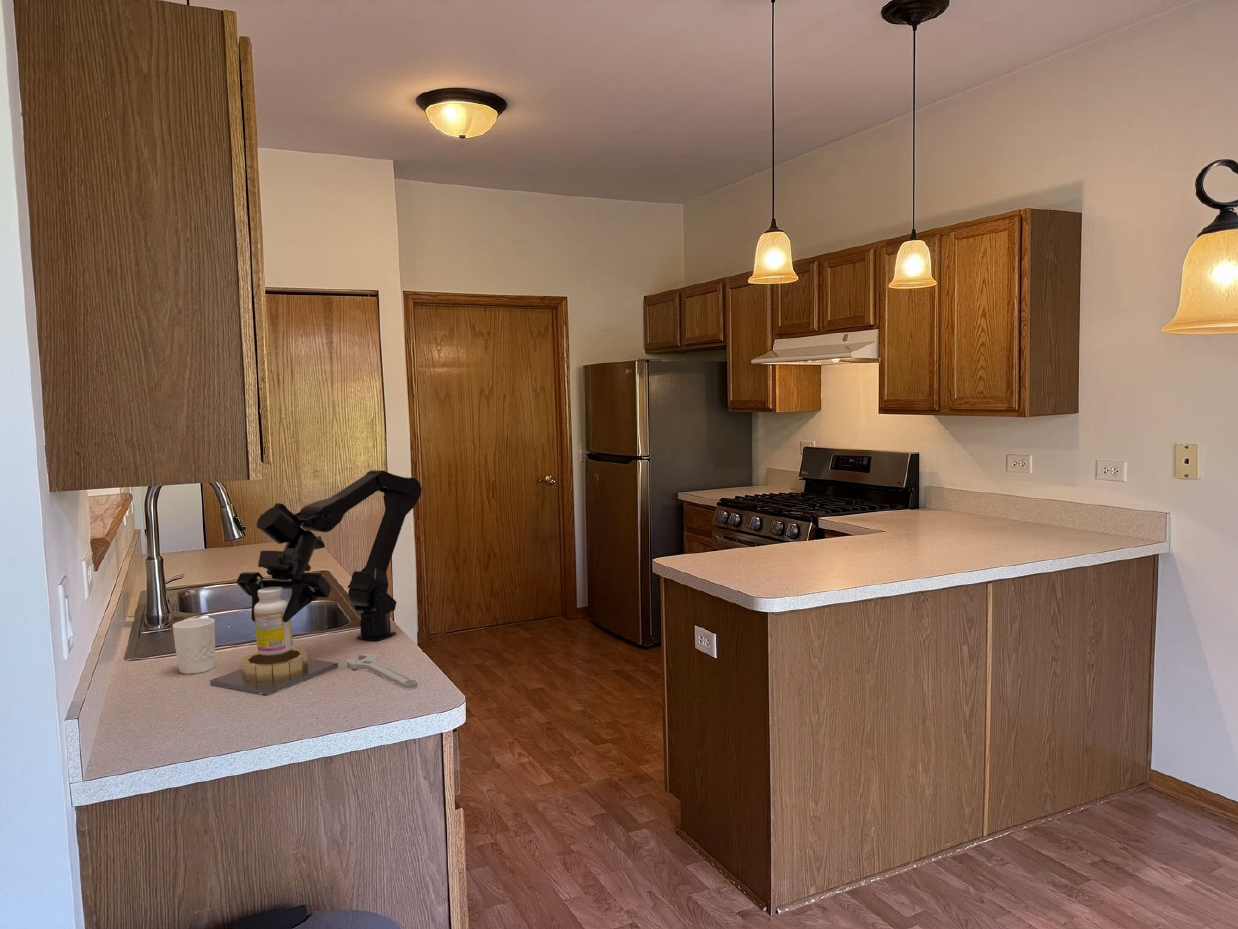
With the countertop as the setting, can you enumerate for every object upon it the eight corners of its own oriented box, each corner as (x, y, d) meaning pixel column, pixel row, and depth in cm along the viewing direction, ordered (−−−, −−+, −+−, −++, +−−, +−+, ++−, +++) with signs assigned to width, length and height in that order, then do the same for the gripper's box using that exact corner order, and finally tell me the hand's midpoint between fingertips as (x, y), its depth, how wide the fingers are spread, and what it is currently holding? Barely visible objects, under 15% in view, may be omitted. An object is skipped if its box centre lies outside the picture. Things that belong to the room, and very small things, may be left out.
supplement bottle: (274, 645, 178) (269, 584, 177) (300, 647, 175) (295, 586, 174) (250, 655, 171) (244, 592, 170) (276, 657, 169) (270, 593, 168)
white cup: (169, 676, 176) (165, 628, 175) (186, 664, 184) (183, 618, 183) (207, 674, 176) (204, 626, 175) (224, 662, 184) (220, 617, 183)
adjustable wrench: (420, 689, 164) (420, 680, 164) (388, 697, 160) (388, 688, 160) (371, 659, 184) (370, 651, 184) (341, 666, 180) (341, 658, 180)
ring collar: (283, 659, 185) (282, 641, 185) (338, 667, 178) (336, 648, 178) (210, 685, 169) (208, 665, 169) (267, 695, 162) (265, 675, 162)
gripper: (238, 534, 177) (206, 599, 167) (319, 533, 173) (291, 601, 163) (264, 563, 186) (235, 627, 176) (342, 564, 182) (317, 629, 172)
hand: (268, 621), depth 171 cm, fingers closed on supplement bottle, 7 cm apart
